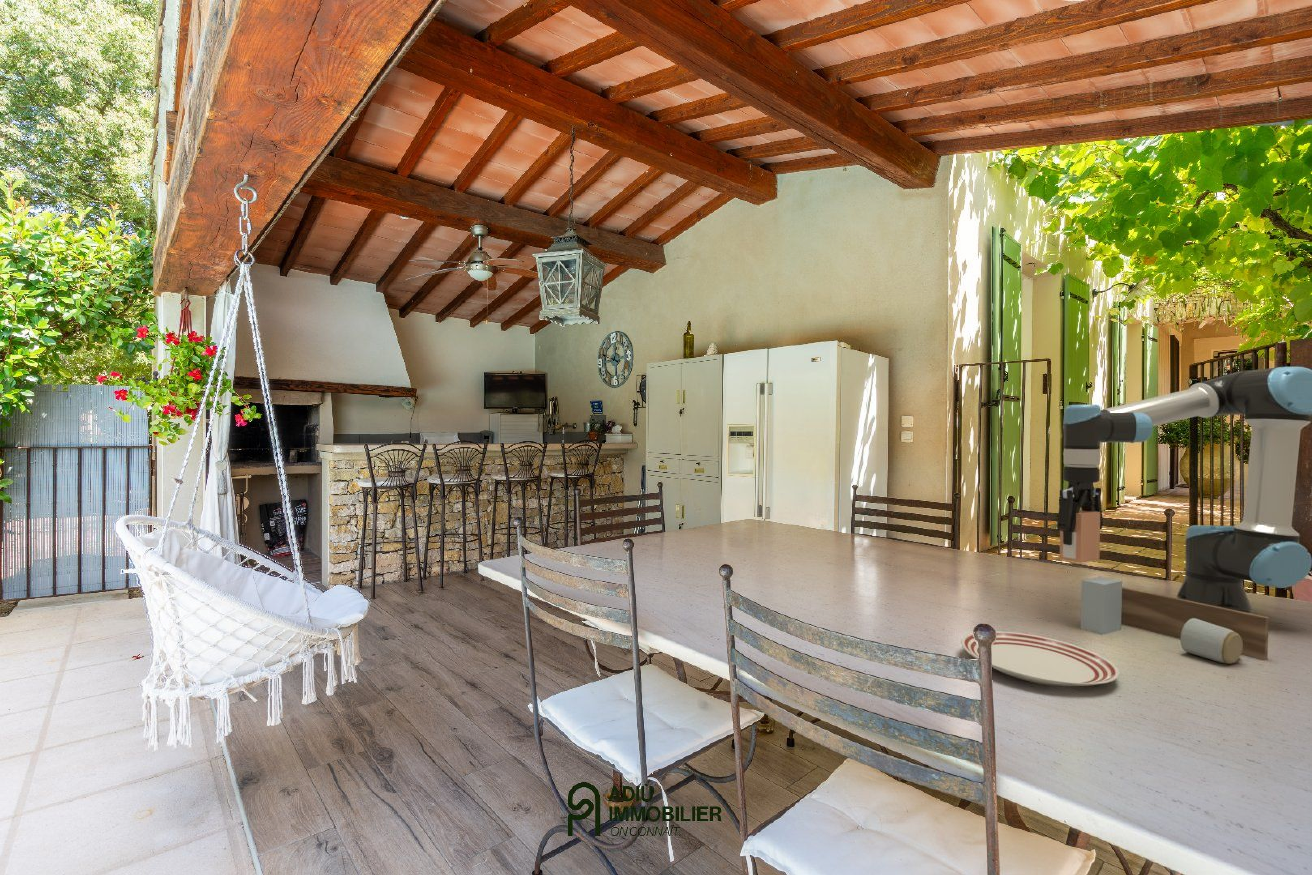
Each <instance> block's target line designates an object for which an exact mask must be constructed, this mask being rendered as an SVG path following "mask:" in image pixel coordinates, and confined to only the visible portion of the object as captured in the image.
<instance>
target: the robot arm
mask: <svg viewBox="0 0 1312 875" xmlns="http://www.w3.org/2000/svg"><path fill="white" fill-rule="evenodd" d="M1235 415H1237V416H1239V415H1240V416H1241V415H1242V416H1244V422H1245V423H1246V424H1248V425H1249V426H1250V427H1251V434H1250V435H1251V436H1250V445H1249V456H1248V464H1247V476H1246V488H1245V498H1244V509H1243V517H1242V518H1243V519H1242V521H1241V522H1239V523H1238V524H1236V525H1213V524H1212V525H1209V524H1208V525H1207V524H1206V525H1204V524H1203V525H1201V524H1200V525H1199V524H1194V525H1190V526H1188V527H1187V530H1186V535H1185V538H1184V539H1185V540H1184V541H1185V569H1184V570H1185V577H1184V579H1183V582H1182V584H1181V586H1180V588H1179V590H1178V592H1177V595H1176V597H1175V598H1178V599H1183V600H1188V601H1193V602H1198V603H1203V604H1207V605H1212V606H1217V607H1222V608H1227V609H1231V610H1236V611H1241V612H1246V613H1251V614H1252V605H1251V603H1250V600H1249V598H1248V596H1247V593H1246V589H1245V587H1244V585H1243V584H1244V582H1243V581H1244V580H1245V581H1249V582H1251V583H1255V584H1257V585H1260V586H1262V587H1263V586H1267V587H1273V588H1279V589H1284V588H1289V587H1290V588H1291V587H1293V586H1296V585H1297V584H1298V583H1300V582H1301V581H1303V580H1305V578H1306V577H1307V576H1308V574H1309V573H1310V572H1311V568H1312V556H1311V553H1310V552H1308V549H1307V548H1306V547H1305V546H1304V545H1301V544H1300V533H1299V532H1297V531H1296V530H1295V529H1294V528H1293V526H1292V524H1293V523H1292V522H1293V513H1294V504H1295V503H1294V502H1295V493H1296V482H1297V481H1296V480H1297V471H1298V460H1299V452H1300V451H1299V450H1300V440H1301V431H1302V429H1303V428H1304V427H1307V426H1308V425H1310V424H1311V421H1312V420H1311V419H1312V369H1310V368H1308V367H1304V366H1279V367H1270V368H1269V367H1268V368H1262V369H1261V368H1260V369H1253V370H1251V369H1250V370H1242V371H1236V372H1233V373H1230V374H1229V373H1228V374H1227V375H1226V374H1225V375H1222V376H1219V377H1216V378H1212V379H1207V380H1205V381H1201V382H1196V383H1194V384H1192V385H1191V386H1190V387H1189V388H1188V389H1185V390H1179V391H1175V392H1171V393H1167V394H1162V395H1158V396H1154V397H1150V398H1146V399H1145V398H1144V399H1141V400H1138V401H1134V402H1133V401H1132V402H1129V403H1126V404H1125V403H1124V404H1119V405H1116V406H1112V407H1108V408H1104V409H1101V406H1100V405H1099V404H1069V405H1067V406H1066V407H1065V408H1064V414H1063V421H1062V422H1063V423H1062V424H1063V426H1062V429H1063V452H1062V455H1063V464H1064V465H1065V466H1064V467H1063V471H1062V479H1063V481H1065V482H1068V484H1067V489H1059V498H1060V499H1059V506H1058V516H1057V524H1056V528H1057V529H1058V531H1059V532H1060V531H1063V557H1067V558H1072V559H1076V532H1074V529H1075V525H1076V513H1079V511H1080V510H1083V511H1091V512H1093V511H1096V512H1100V531H1101V530H1102V528H1103V525H1104V520H1103V510H1102V488H1101V487H1095V486H1094V483H1098V482H1099V481H1100V472H1101V471H1100V470H1101V469H1100V468H1099V467H1098V466H1099V465H1100V464H1101V462H1100V461H1101V459H1100V457H1101V455H1100V454H1101V452H1100V451H1101V443H1129V444H1134V443H1143V442H1146V441H1148V440H1149V439H1150V437H1151V436H1152V435H1153V431H1154V429H1153V428H1154V427H1155V426H1160V425H1164V424H1169V423H1172V422H1177V421H1182V420H1186V419H1190V418H1194V417H1195V418H1196V417H1200V418H1203V419H1204V418H1211V417H1216V416H1217V417H1219V416H1235Z"/></svg>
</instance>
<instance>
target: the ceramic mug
mask: <svg viewBox="0 0 1312 875" xmlns="http://www.w3.org/2000/svg"><path fill="white" fill-rule="evenodd" d="M1180 645H1181V649H1182V650H1183V651H1184V652H1185V653H1188V654H1191V655H1195V656H1198V657H1201V658H1204V659H1208V660H1210V661H1211V660H1212V661H1214V662H1217V663H1221V664H1228V665H1229V664H1234V663H1236V662H1237V661H1238V660H1239V659H1240V657H1241V655H1242V654H1241V653H1242V649H1243V642H1242V638H1241V637H1240V635H1239V634H1238V633H1236V632H1234V631H1232V630H1230V629H1227V628H1224V627H1220V626H1217V625H1214V624H1211V623H1208V622H1205V621H1202V620H1199V619H1195V618H1192V619H1190V620H1188V621H1187V622H1186V623H1185V625H1184V627H1183V629H1182V632H1181V639H1180Z"/></svg>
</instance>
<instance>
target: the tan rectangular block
mask: <svg viewBox="0 0 1312 875" xmlns="http://www.w3.org/2000/svg"><path fill="white" fill-rule="evenodd" d="M1074 532H1076V559H1072V558H1067V557H1063V531H1060V530H1059V534H1060V535H1059V559H1060V560H1064V561H1071V562H1075V563H1081V564H1082V563H1087V562H1094V561H1098V560H1100V552H1101V551H1100V546H1101V545H1100V543H1101V542H1100V541H1101V540H1100V539H1101V538H1100V537H1101V530H1100V512H1096V511H1093V512H1091V511H1083V510H1082V509H1080V511H1079V513H1076V525H1075V529H1074Z"/></svg>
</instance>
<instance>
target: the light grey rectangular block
mask: <svg viewBox="0 0 1312 875" xmlns="http://www.w3.org/2000/svg"><path fill="white" fill-rule="evenodd" d="M1122 587H1123V581H1122V580H1119V579H1114V578H1108V577H1104V576H1100V575H1099V576H1095V577H1090V578H1085V579H1081V596H1080V597H1081V600H1080V601H1081V602H1080V629H1081V630H1084V631H1089V632H1092V633H1096V634H1100V635H1102V636H1104V635H1107V634H1110V633H1114V632H1117V631H1121V630H1122V624H1121V608H1122Z"/></svg>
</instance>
